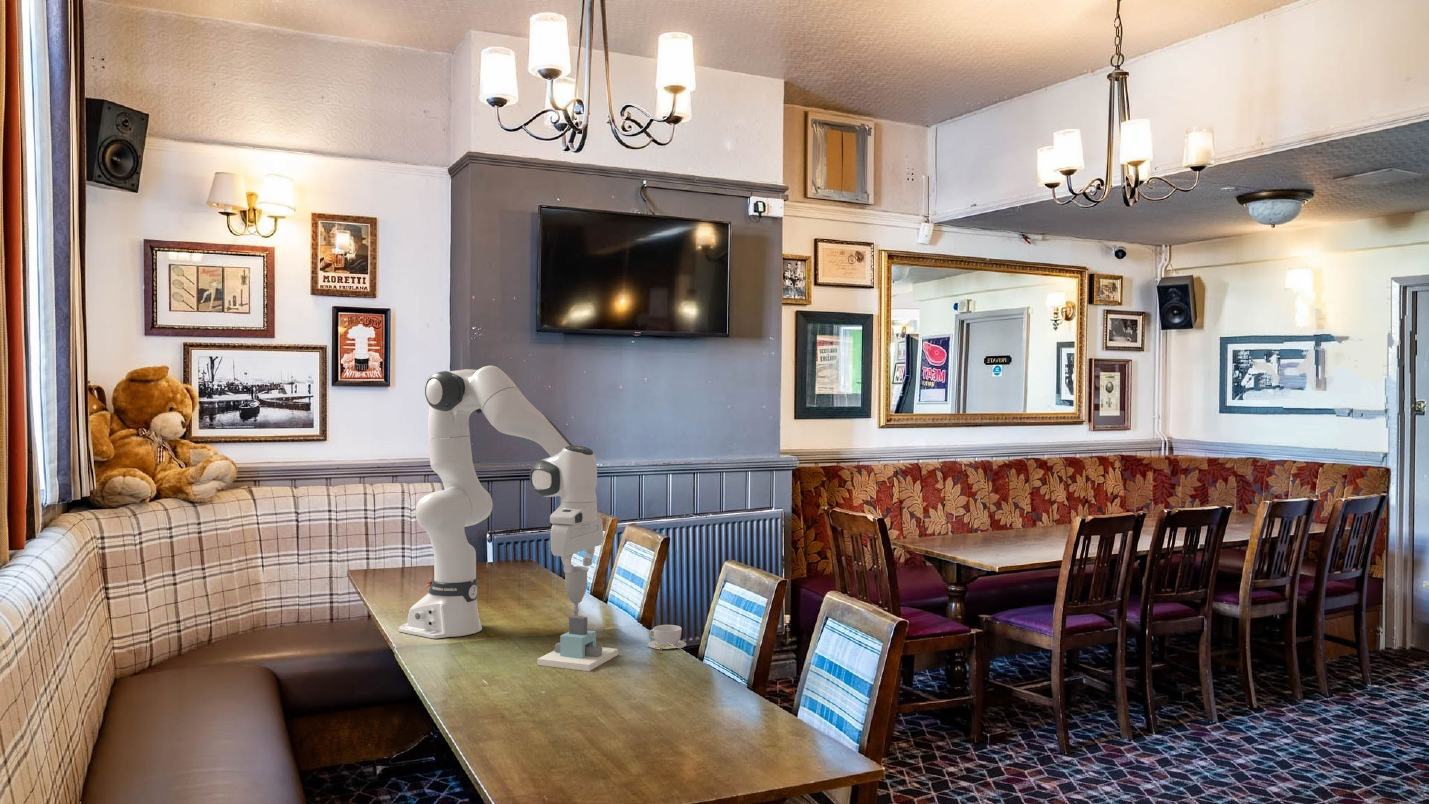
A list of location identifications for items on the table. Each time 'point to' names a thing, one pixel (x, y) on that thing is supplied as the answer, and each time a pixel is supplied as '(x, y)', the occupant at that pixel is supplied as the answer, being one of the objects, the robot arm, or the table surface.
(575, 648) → the block
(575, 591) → the chalice
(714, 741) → the table surface
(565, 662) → the cleat board
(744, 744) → the table surface
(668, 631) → the teacup
